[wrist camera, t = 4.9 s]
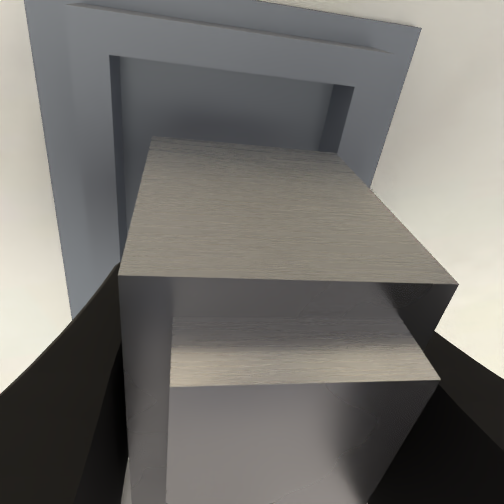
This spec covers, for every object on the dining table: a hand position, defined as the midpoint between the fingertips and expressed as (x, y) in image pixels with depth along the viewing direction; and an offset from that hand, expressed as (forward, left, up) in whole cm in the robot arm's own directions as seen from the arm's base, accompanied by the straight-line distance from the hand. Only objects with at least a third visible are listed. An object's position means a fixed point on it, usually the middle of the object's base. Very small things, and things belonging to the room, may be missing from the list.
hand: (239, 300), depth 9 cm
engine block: (0, 0, -2) cm, 2 cm away
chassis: (0, +3, -7) cm, 8 cm away
